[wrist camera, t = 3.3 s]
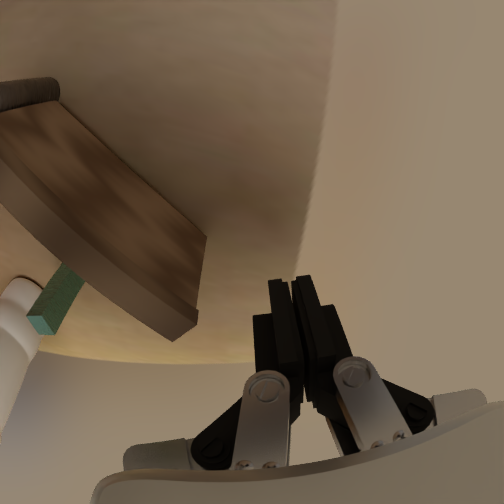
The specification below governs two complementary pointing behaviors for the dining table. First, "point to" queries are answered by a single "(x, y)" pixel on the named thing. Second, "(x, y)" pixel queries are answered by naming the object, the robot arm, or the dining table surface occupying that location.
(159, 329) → the gate
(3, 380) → the water bottle
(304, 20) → the dining table surface
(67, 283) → the gate posts
